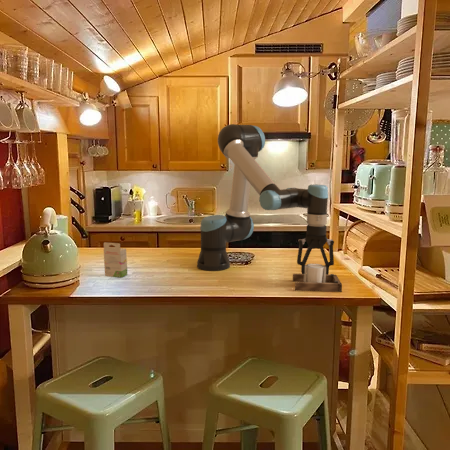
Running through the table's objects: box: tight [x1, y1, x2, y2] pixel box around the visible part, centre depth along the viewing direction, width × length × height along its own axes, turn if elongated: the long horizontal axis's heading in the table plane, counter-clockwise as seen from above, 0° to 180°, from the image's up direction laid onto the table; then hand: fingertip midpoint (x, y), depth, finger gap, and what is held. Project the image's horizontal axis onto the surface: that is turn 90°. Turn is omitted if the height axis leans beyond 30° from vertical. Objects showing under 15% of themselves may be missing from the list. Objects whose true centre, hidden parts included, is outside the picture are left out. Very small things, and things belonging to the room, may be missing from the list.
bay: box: [292, 273, 343, 293], centre depth 168 cm, size 18×13×4 cm
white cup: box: [305, 263, 324, 283], centre depth 168 cm, size 7×7×7 cm
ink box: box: [103, 242, 128, 278], centre depth 181 cm, size 9×5×15 cm, turn 71°
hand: (314, 281), depth 168 cm, fingers closed on white cup, 7 cm apart
